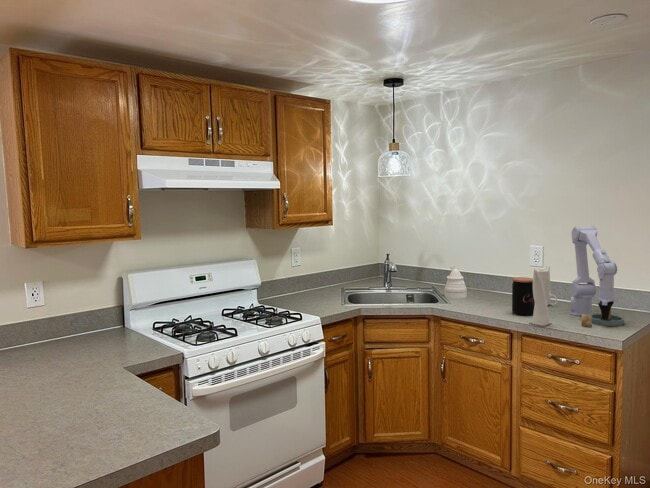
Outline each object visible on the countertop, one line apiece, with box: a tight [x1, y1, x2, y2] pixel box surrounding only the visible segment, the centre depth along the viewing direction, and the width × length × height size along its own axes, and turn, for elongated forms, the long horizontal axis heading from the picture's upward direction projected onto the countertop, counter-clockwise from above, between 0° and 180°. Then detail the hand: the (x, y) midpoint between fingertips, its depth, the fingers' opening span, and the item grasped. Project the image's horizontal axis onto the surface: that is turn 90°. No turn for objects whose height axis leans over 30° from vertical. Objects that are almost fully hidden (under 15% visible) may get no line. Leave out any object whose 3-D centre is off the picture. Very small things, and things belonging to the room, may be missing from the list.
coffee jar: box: [511, 276, 535, 317], centre depth 254 cm, size 11×11×18 cm
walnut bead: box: [600, 310, 612, 321], centre depth 231 cm, size 4×4×5 cm
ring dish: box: [591, 313, 625, 327], centre depth 234 cm, size 14×14×2 cm
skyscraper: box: [529, 265, 552, 328], centre depth 232 cm, size 8×8×28 cm
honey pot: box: [444, 265, 468, 299], centre depth 302 cm, size 13×13×18 cm
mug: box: [547, 291, 558, 306], centre depth 272 cm, size 12×8×8 cm
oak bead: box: [580, 314, 592, 328], centre depth 229 cm, size 4×4×5 cm
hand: (605, 317), depth 231 cm, fingers closed on walnut bead, 4 cm apart
